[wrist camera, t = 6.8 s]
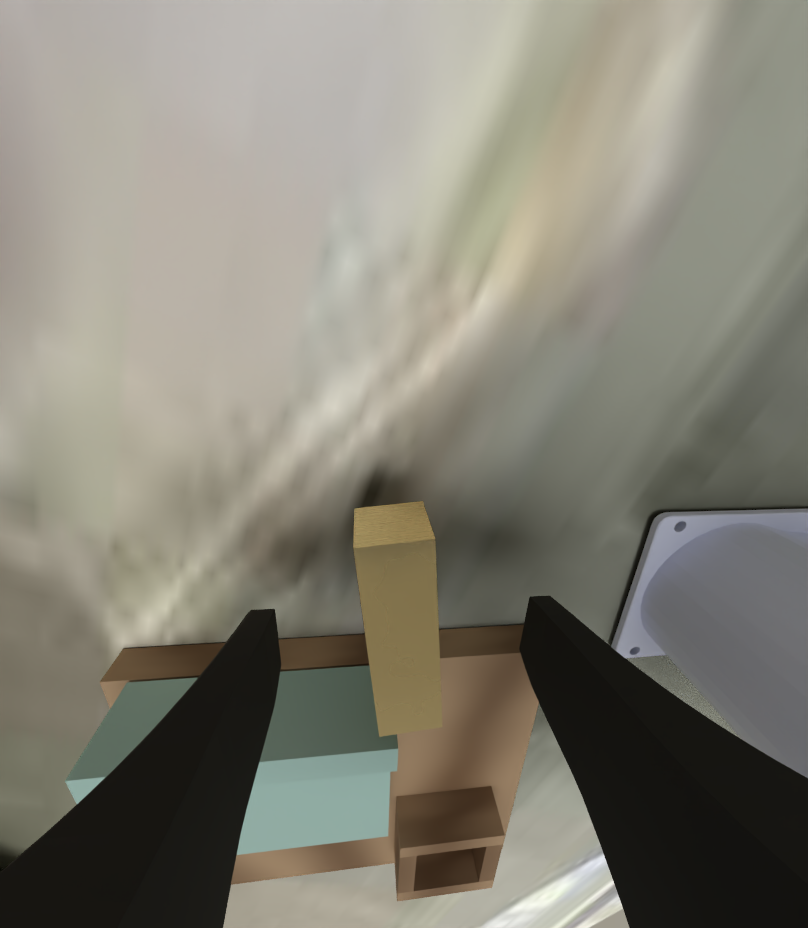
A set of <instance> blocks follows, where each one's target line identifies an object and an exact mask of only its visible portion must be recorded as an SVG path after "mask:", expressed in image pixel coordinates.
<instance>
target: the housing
mask: <svg viewBox="0 0 808 928" xmlns="http://www.w3.org/2000/svg"><path fill="white" fill-rule="evenodd" d="M523 627H524V625H508V626H491V627H475V628H458V629H442V630H439V649H440V675H441V702H442V727H440V728H433V729H427V730H420V731H414V732H408V733H401V734H397V740H398V765H397V771H393V772H390V798H389V826H388V836H386V837H378V838H370V839H362V840H354V841H346V842H338V843H330V844H322V845H314V846H306V847H298V848H290V849H281V850H273V851H265V852H257V853H249V854H241V855H236V861H235V866H234V871H233V876H232V881H231V884H239V883H246V882H254V881H262V880H269V879H277V878H284V877H292V876H299V875H307V874H314V873H322V872H330V871H337V870H345V869H352V868H360V867H367V866H375V865H383V864H390V863H395V875H396V890H397V901H403V900H410V899H417V898H424V897H430V896H437V895H444V894H451V893H458V892H465V891H472V890H479V889H486V888H492V885H493V881H494V877H495V873H496V869H497V865H498V861H499V857H500V853H501V849H502V847H503V843H504V839H505V835H506V831H507V827H508V823H509V819H510V815H511V811H512V807H513V803H514V799H515V795H516V791H517V787H518V783H519V779H520V775H521V771H522V768H523V764H524V760H525V756H526V752H527V748H528V744H529V740H530V736H531V732H532V728H533V724H534V720H535V716H536V712H537V708H538V704H539V701H538V699H537V697H536V695H535V693H534V690H533V688H532V686H531V683H530V680H529V677H528V675H527V672H526V669H525V666H524V663H523V660H522V657H521V653H520V650H519V647H520V642H521V637H522V632H523ZM278 640H279V648H280V656H281V670H280V672H283V671H298V670H312V669H326V668H340V667H354V666H368V665H369V659H368V652H367V644H366V637H365V634H360V635H343V636H327V637H311V638H294V639H278ZM224 645H225V643H212V644H196V645H179V646H163V647H146V648H130V649H123V650H122V651H121V653H120V654H119V656H118V657H117V658H116V660H115V661H114V663H113V664H112V666H111V667H110V668H109V670H108V671H107V673H106V674H105V675H104V677H103V678H102V680H101V681H100V684H101V686H102V689H103V692H104V694H105V697H106V699H107V702H108V704H109V707H110V709H111V707H112V705H113V704H114V702H115V701H116V699H117V698H118V696H119V694H120V693H121V691H122V690H123V688H124V686H125V685H126V683H128V682H142V681H156V680H170V679H184V678H198V677H199V676H200V675H201V673H202V672H203V671H204V670H205V668H206V667H207V666H208V665H209V664H210V662H211V661H212V660H213V659H214V657H215V656H216V655H217V654H218V652H219V651H220V650H221V648H222V647H223V646H224Z"/></svg>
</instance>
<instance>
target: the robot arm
mask: <svg viewBox="0 0 808 928" xmlns="http://www.w3.org/2000/svg"><path fill="white" fill-rule="evenodd" d="M676 524H677V525H676ZM519 650H520V653H521V657H522V660H523V663H524V666H525V669H526V672H527V675H528V677H529V680H530V683H531V686H532V688H533V690H534V693H535V695H536V697H537V699H538V701H539V703H540V706H541V708H542V710H543V712H544V714H545V716H546V719H547V721H548V723H549V725H550V727H551V729H552V731H553V733H554V735H555V738H556V740H557V742H558V744H559V746H560V748H561V750H562V752H563V755H564V757H565V759H566V761H567V763H568V765H569V767H570V769H571V772H572V774H573V776H574V778H575V781H576V783H577V785H578V787H579V790H580V792H581V794H582V797H583V799H584V802H585V805H586V807H587V810H588V813H589V815H590V818H591V821H592V823H593V826H594V829H595V831H596V834H597V836H598V839H599V842H600V844H601V847H602V850H603V853H604V856H605V858H606V861H607V864H608V867H609V870H610V872H611V875H612V878H613V881H614V884H615V886H616V889H617V892H618V895H619V898H620V900H621V903H622V906H623V909H624V912H625V915H626V918H627V921H628V924H629V927H630V928H808V509H771V510H732V511H693V512H665V513H661V514H659V515H658V516H656V517H655V518H654V520H653V522H652V525H651V528H650V531H649V534H648V537H647V540H646V543H645V546H644V549H643V552H642V555H641V558H640V561H639V564H638V567H637V570H636V573H635V576H634V579H633V582H632V585H631V588H630V591H629V594H628V597H627V600H626V603H625V606H624V609H623V612H622V615H621V618H620V621H619V624H618V627H617V630H616V634H615V637H614V640H613V643H612V646H609V645H608V644H607V643H606V642H604V641H603V640H602V639H601V638H600V637H598V636H597V635H596V634H595V633H594V632H592V631H591V630H590V629H589V628H588V627H587V626H585V625H584V624H583V623H582V622H581V621H579V620H578V619H577V618H576V617H575V616H574V615H572V614H571V613H570V612H569V611H568V610H566V609H565V608H564V607H563V606H562V605H561V604H559V603H558V602H557V601H556V600H554V599H553V598H552V597H551V596H534V597H530V598H529V603H528V608H527V613H526V617H525V622H524V627H523V632H522V637H521V642H520V647H519ZM662 655H667V656H668V657H669V658H670V660H671V661H672V662H673V663H674V664H675V665H676V666H677V667H678V669H679V670H680V671H681V672H682V673H683V674H684V675H685V676H686V678H687V679H688V680H689V681H690V682H691V683H692V684H693V685H694V686H695V688H696V689H697V690H698V691H699V692H700V693H701V694H702V695H703V697H704V698H705V699H706V700H707V701H708V702H709V703H710V704H711V706H712V707H713V708H714V709H715V710H716V711H717V712H718V713H719V714H720V716H721V717H722V718H723V719H724V720H725V721H726V722H727V723H728V725H729V726H730V727H731V728H732V729H733V730H734V731H735V732H736V734H737V735H738V736H739V737H740V738H741V739H740V738H738V737H737V736H735V735H733V734H732V733H730V732H729V731H727V730H726V729H724V728H722V727H721V726H719V725H718V724H716V723H715V722H713V721H712V720H710V719H709V718H707V717H706V716H704V715H703V714H701V713H700V712H698V711H697V710H695V709H694V708H692V707H691V706H689V705H688V704H686V703H685V702H683V701H682V700H680V699H679V698H678V697H676V696H675V695H673V694H672V693H670V692H669V691H668V690H666V689H665V688H664V687H662V686H661V685H660V684H658V683H657V682H656V681H654V680H653V679H652V678H650V677H649V676H648V675H646V674H645V673H644V672H642V671H641V670H640V669H638V668H637V667H636V666H634V665H633V664H632V663H631V662H629V661H628V660H627V659H625V658H635V657H648V656H662ZM280 670H281V656H280V648H279V640H278V632H277V624H276V615H275V609H263V610H251V611H250V612H249V613H248V614H247V615H246V616H245V618H244V619H243V620H242V622H241V623H240V625H239V626H238V627H237V629H236V630H235V631H234V633H233V634H232V635H231V637H230V638H229V639H228V641H227V642H226V643H225V645H224V646H223V647H222V648H221V650H220V651H219V652H218V654H217V655H216V656H215V657H214V659H213V660H212V661H211V662H210V664H209V665H208V666H207V667H206V668H205V670H204V671H203V672H202V673H201V675H200V676H199V677H198V678H197V680H196V681H195V682H194V683H193V684H192V686H191V687H190V688H189V689H188V690H187V691H186V693H185V694H184V695H183V696H182V697H181V698H180V699H179V700H178V702H177V703H176V704H175V705H174V706H173V707H172V708H171V710H170V711H169V712H168V713H167V714H166V715H165V716H164V717H163V719H162V720H161V721H160V722H159V723H158V724H157V725H156V726H155V727H154V728H153V729H152V731H151V732H150V733H149V734H148V735H147V736H146V737H145V738H144V739H143V740H142V741H141V742H140V743H139V744H138V745H137V746H136V747H135V748H134V749H133V750H132V751H131V752H130V753H129V754H128V756H127V757H126V758H125V759H124V760H123V761H122V762H121V763H120V764H119V765H118V766H117V767H116V768H115V769H114V770H113V771H112V772H111V773H110V774H108V775H107V776H106V777H105V778H104V779H103V780H102V781H101V782H100V783H99V784H98V785H97V786H96V787H95V788H94V789H93V790H92V791H91V792H90V793H88V794H87V795H86V796H85V797H84V798H83V799H82V800H81V801H80V802H79V803H78V804H77V805H76V806H75V807H74V808H73V809H72V810H70V811H69V812H68V813H67V814H66V815H65V816H64V817H63V818H62V819H61V820H60V821H58V822H57V823H56V824H55V825H54V826H53V827H52V828H51V829H50V830H48V831H47V832H46V833H45V834H44V835H43V836H42V837H41V838H39V839H38V840H37V841H36V842H35V843H34V844H32V845H31V846H30V847H29V848H28V849H27V850H25V851H24V852H23V853H22V854H21V855H20V856H18V857H17V858H16V859H15V860H14V861H13V862H11V863H10V864H9V865H8V866H7V867H6V868H4V869H3V870H2V871H1V872H0V928H223V924H224V919H225V913H226V908H227V902H228V897H229V892H230V886H231V881H232V876H233V871H234V866H235V861H236V855H237V850H238V845H239V840H240V835H241V831H242V826H243V822H244V818H245V814H246V810H247V806H248V802H249V799H250V795H251V791H252V787H253V784H254V780H255V776H256V773H257V769H258V765H259V762H260V758H261V754H262V751H263V747H264V743H265V740H266V736H267V732H268V729H269V725H270V721H271V717H272V714H273V710H274V706H275V701H276V695H277V689H278V683H279V676H280Z"/></svg>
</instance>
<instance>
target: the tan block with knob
mask: <svg viewBox="0 0 808 928" xmlns="http://www.w3.org/2000/svg"><path fill="white" fill-rule="evenodd" d="M353 550H354V557H355V565H356V572H357V579H358V586H359V594H360V601H361V608H362V615H363V623H364V630H365V637H366V644H367V652H368V659H369V666H370V674H371V681H372V688H373V695H374V703H375V710H376V717H377V724H378V732H379V737H382V736H388V735H395V734H401V733H408V732H414V731H420V730H427V729H433V728H440V727H442V702H441V675H440V649H439V622H438V596H437V569H436V542H435V536H434V533H433V530H432V527H431V524H430V521H429V518H428V515H427V512H426V509H425V506H424V504H423V501H419V502H410V503H401V504H391V505H382V506H373V507H364V508H355V509H354V542H353Z"/></svg>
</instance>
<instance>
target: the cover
mask: <svg viewBox="0 0 808 928" xmlns="http://www.w3.org/2000/svg"><path fill="white" fill-rule="evenodd" d="M196 680H197V678H184V679H170V680H156V681H142V682H128V683H126V685H125V686H124V688H123V690H122V691H121V693H120V694H119V696H118V698H117V699H116V701H115V702H114V704H113V705H112V707H111V709H110V710H109V712H108V713H107V715H106V717H105V718H104V720H103V721H102V723H101V725H100V726H99V728H98V729H97V731H96V733H95V734H94V736H93V737H92V739H91V741H90V742H89V744H88V745H87V747H86V748H85V750H84V752H83V753H82V755H81V756H80V758H79V760H78V761H77V763H76V764H75V766H74V768H73V769H72V771H71V772H70V774H69V776H68V777H67V779H66V780H65V782H66V784H67V786H68V788H69V790H70V792H71V794H72V796H73V798H74V800H75V801H76V803H77V804H78V803H79V802H80V801H81V800H82V799H83V798H84V797H85V796H86V795H87V794H88V793H90V792H91V791H92V790H93V789H94V788H95V787H96V786H97V785H98V784H99V783H100V782H101V781H102V780H103V779H104V778H105V777H106V776H107V775H108V774H110V773H111V772H112V771H113V770H114V769H115V768H116V767H117V766H118V765H119V764H120V763H121V762H122V761H123V760H124V759H125V758H126V757H127V756H128V754H129V753H130V752H131V751H132V750H133V749H134V748H135V747H136V746H137V745H138V744H139V743H140V742H141V741H142V740H143V739H144V738H145V737H146V736H147V735H148V734H149V733H150V732H151V731H152V729H153V728H154V727H155V726H156V725H157V724H158V723H159V722H160V721H161V720H162V719H163V717H164V716H165V715H166V714H167V713H168V712H169V711H170V710H171V708H172V707H173V706H174V705H175V704H176V703H177V702H178V700H179V699H180V698H181V697H182V696H183V695H184V694H185V693H186V691H187V690H188V689H189V688H190V687H191V686H192V684H193V683H194V682H195V681H196ZM397 765H398V740H397V734H395V735H388V736H382V737H379V732H378V724H377V717H376V710H375V703H374V695H373V688H372V681H371V674H370V666H369V665H368V666H354V667H340V668H326V669H312V670H298V671H283V672H280V676H279V683H278V689H277V695H276V701H275V706H274V710H273V714H272V717H271V721H270V725H269V729H268V732H267V736H266V740H265V743H264V747H263V751H262V754H261V758H260V762H259V765H258V769H257V773H256V776H255V780H254V784H253V787H252V791H251V795H250V799H249V802H248V806H247V810H246V814H245V818H244V822H243V826H242V831H241V835H240V840H239V845H238V850H237V855H241V854H249V853H257V852H265V851H273V850H281V849H290V848H298V847H306V846H314V845H322V844H330V843H338V842H346V841H354V840H362V839H370V838H378V837H386V836H388V826H389V798H390V772H393V771H397Z"/></svg>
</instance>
